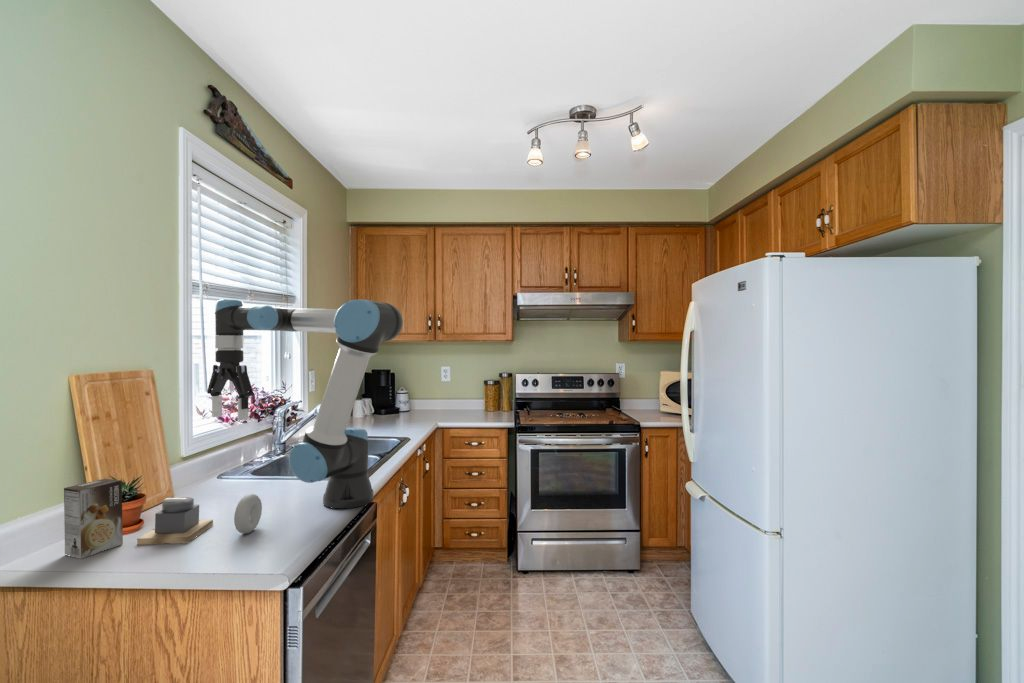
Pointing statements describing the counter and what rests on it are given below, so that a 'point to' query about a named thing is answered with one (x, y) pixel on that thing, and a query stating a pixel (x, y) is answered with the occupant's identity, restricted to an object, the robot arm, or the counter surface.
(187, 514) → the knob
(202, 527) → the base
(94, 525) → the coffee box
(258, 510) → the upright grey disc
